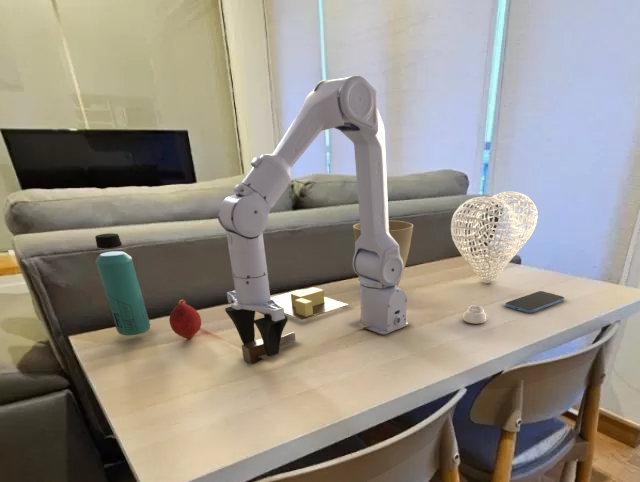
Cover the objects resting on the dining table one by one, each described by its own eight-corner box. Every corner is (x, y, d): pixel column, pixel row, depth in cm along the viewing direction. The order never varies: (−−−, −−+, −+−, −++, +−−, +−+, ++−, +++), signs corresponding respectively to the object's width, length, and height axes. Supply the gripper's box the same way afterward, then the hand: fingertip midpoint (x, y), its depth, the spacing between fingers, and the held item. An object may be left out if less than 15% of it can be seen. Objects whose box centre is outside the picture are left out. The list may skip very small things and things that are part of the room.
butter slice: (313, 314, 102) (312, 301, 100) (306, 316, 101) (304, 303, 99) (302, 310, 104) (301, 297, 103) (295, 313, 103) (294, 299, 101)
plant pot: (375, 278, 131) (375, 218, 123) (421, 286, 123) (424, 223, 115) (342, 291, 120) (340, 226, 112) (390, 301, 113) (391, 232, 105)
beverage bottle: (160, 332, 96) (134, 231, 86) (136, 344, 90) (106, 238, 80) (135, 329, 98) (107, 229, 87) (110, 340, 92) (77, 236, 82)
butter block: (324, 302, 109) (323, 290, 108) (301, 309, 105) (300, 296, 103) (314, 299, 111) (314, 287, 110) (291, 306, 107) (290, 293, 105)
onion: (194, 345, 90) (186, 305, 86) (168, 343, 91) (158, 304, 87) (209, 334, 95) (202, 296, 91) (184, 332, 96) (175, 294, 92)
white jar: (470, 315, 104) (458, 321, 101) (472, 302, 102) (459, 308, 99) (490, 320, 101) (478, 326, 98) (492, 307, 99) (479, 313, 96)
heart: (486, 268, 140) (496, 187, 128) (535, 276, 131) (551, 191, 120) (435, 288, 122) (441, 197, 110) (488, 300, 113) (500, 202, 101)
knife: (251, 364, 82) (248, 348, 81) (243, 360, 84) (241, 345, 82) (299, 346, 89) (298, 331, 88) (291, 343, 91) (290, 328, 89)
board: (349, 308, 108) (348, 304, 108) (302, 324, 100) (301, 319, 99) (301, 293, 119) (300, 289, 119) (255, 305, 111) (254, 301, 110)
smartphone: (503, 302, 108) (539, 290, 117) (503, 306, 109) (539, 293, 117) (530, 310, 103) (566, 296, 112) (530, 314, 104) (566, 300, 112)
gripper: (206, 270, 79) (220, 344, 86) (254, 287, 70) (265, 367, 77) (242, 263, 84) (252, 333, 90) (291, 278, 75) (298, 354, 82)
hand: (260, 348), depth 84 cm, fingers open, 7 cm apart
